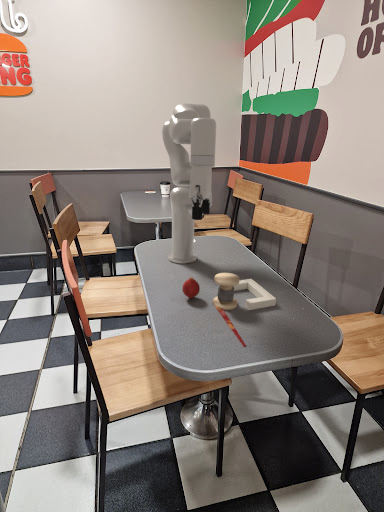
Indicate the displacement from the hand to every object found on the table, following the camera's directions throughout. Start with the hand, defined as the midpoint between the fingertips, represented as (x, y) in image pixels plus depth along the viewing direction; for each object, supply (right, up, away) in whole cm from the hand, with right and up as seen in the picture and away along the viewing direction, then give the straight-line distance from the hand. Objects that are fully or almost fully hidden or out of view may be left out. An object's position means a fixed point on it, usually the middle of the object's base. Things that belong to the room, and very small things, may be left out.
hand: (201, 216), depth 103 cm
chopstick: (+8, -33, -8) cm, 35 cm away
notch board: (+17, -27, +7) cm, 33 cm away
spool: (+8, -29, +2) cm, 30 cm away
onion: (-3, -27, +5) cm, 28 cm away
